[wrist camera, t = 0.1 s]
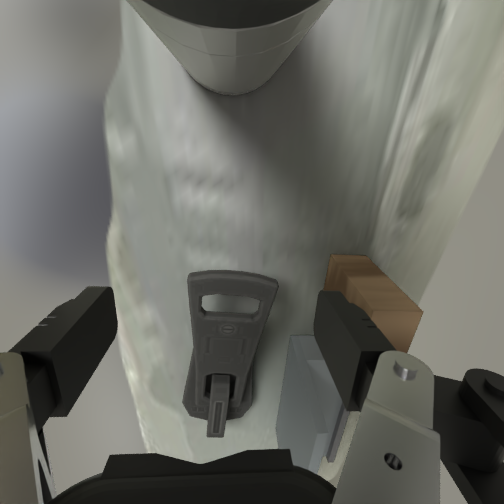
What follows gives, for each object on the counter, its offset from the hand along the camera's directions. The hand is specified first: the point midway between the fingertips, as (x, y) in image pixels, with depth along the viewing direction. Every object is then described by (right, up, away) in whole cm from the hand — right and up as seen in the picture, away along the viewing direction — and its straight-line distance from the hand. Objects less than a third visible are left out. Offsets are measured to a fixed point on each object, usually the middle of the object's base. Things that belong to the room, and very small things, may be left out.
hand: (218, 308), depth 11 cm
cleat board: (+9, -16, +27) cm, 33 cm away
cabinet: (+12, -1, +20) cm, 23 cm away
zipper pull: (-2, -8, +23) cm, 25 cm away
